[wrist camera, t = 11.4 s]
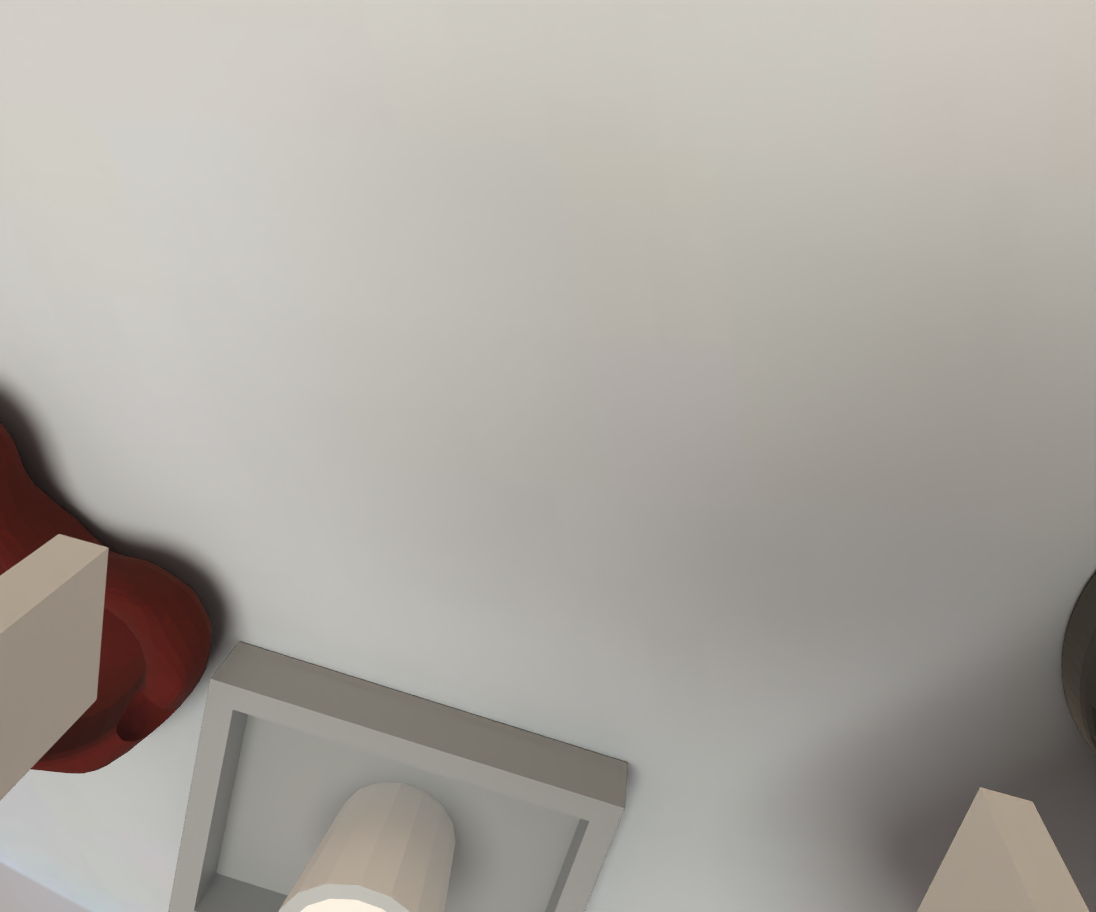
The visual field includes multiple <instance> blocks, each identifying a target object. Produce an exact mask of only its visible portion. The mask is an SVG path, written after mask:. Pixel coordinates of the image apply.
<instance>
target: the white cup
mask: <svg viewBox="0 0 1096 912" xmlns="http://www.w3.org/2000/svg"><path fill="white" fill-rule="evenodd" d="M455 842H456V841H455V833H454V824H453V821H452V820H451V818H450V817H449V815H448V813H447V812H446V810H445V808H444V807H443V805H442V804H441V803H439V802H438V801H437V800H435V799H434V798H433V797H432V796H430V795H429V794H428V793H427V792H425V791H424V790H421V789H418V788H415V787H412V786H410V785H407V784H404V783H393V782H378V783H375V784H372V785H369V786H366V787H363V788H361V789H359V790H357V791H356V792H355V793H354V794H353V795H352V796H351V797H350V798H349V799H348V800H347V801H346V802H345V803H344V805H343V807H342V808H341V810H340V812H339V813H338V815H337V816H336V818H335V820H334V821H333V823H332V825H331V826H330V828H329V829H328V831H327V833H326V834H325V836H324V838H323V839H322V841H321V843H320V844H319V846H318V847H317V849H316V851H315V852H314V854H313V856H312V857H311V859H310V860H309V862H308V864H307V865H306V867H305V869H304V870H303V872H302V874H301V875H300V877H299V878H298V880H297V882H296V883H295V885H294V887H293V888H292V890H291V891H290V893H289V895H288V896H287V898H286V900H285V901H284V903H283V905H282V906H281V908H280V909H279V912H444V911H445V905H446V899H447V892H448V886H449V880H450V873H451V867H452V861H453V855H454V848H455Z"/></svg>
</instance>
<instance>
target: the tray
mask: <svg viewBox="0 0 1096 912" xmlns="http://www.w3.org/2000/svg"><path fill="white" fill-rule="evenodd" d="M627 764H628V763H627V762H623V761H620V760H617V759H614V758H611V757H607V756H604V755H601V754H598V753H595V752H591V751H588V750H585V749H582V748H579V747H575V746H572V745H569V744H566V743H563V742H559V741H556V740H553V739H550V738H547V737H543V736H540V735H537V734H534V733H531V732H527V731H524V730H521V729H518V728H515V727H511V726H508V725H505V724H502V723H499V722H495V721H492V720H489V719H486V718H483V717H479V716H476V715H473V714H470V713H467V712H463V711H460V710H457V709H454V708H451V707H447V706H444V705H441V704H438V703H435V702H431V701H428V700H425V699H422V698H419V697H415V696H412V695H409V694H406V693H403V692H399V691H396V690H393V689H390V688H387V687H383V686H380V685H377V684H374V683H371V682H367V681H364V680H361V679H358V678H355V677H351V676H348V675H345V674H342V673H339V672H335V671H332V670H329V669H326V668H323V667H319V666H316V665H313V664H310V663H307V662H303V661H300V660H297V659H294V658H291V657H287V656H284V655H281V654H278V653H275V652H271V651H268V650H265V649H262V648H259V647H255V646H252V645H249V644H246V643H243V642H239V643H238V644H237V645H236V647H235V648H234V649H233V650H232V652H231V653H230V654H229V655H228V657H227V658H226V659H225V661H224V662H223V663H222V664H221V666H220V667H219V668H218V669H217V671H216V672H215V673H214V674H213V676H212V677H211V678H210V683H209V688H208V694H207V699H206V705H205V711H204V716H203V722H202V727H201V733H200V738H199V744H198V749H197V755H196V761H195V766H194V772H193V777H192V783H191V788H190V794H189V800H188V805H187V811H186V816H185V822H184V827H183V833H182V838H181V844H180V850H179V855H178V861H177V866H176V872H175V877H174V883H173V889H172V894H171V900H170V905H169V911H168V912H279V909H280V908H281V906H282V905H283V903H284V901H285V900H286V898H287V896H288V895H289V893H290V891H291V890H292V888H293V887H294V885H295V883H296V882H297V880H298V878H299V877H300V875H301V874H302V872H303V870H304V869H305V867H306V865H307V864H308V862H309V860H310V859H311V857H312V856H313V854H314V852H315V851H316V849H317V847H318V846H319V844H320V843H321V841H322V839H323V838H324V836H325V834H326V833H327V831H328V829H329V828H330V826H331V825H332V823H333V821H334V820H335V818H336V816H337V815H338V813H339V812H340V810H341V808H342V807H343V805H344V803H345V802H346V801H347V800H348V799H349V798H350V797H351V796H352V795H353V794H354V793H355V792H356V791H357V790H359V789H361V788H363V787H366V786H369V785H372V784H375V783H378V782H393V783H404V784H407V785H410V786H412V787H415V788H418V789H421V790H424V791H425V792H427V793H428V794H429V795H430V796H432V797H433V798H434V799H435V800H437V801H438V802H439V803H441V804H442V805H443V807H444V808H445V810H446V812H447V813H448V815H449V817H450V818H451V820H452V821H453V824H454V833H455V841H456V842H455V848H454V855H453V861H452V867H451V873H450V880H449V886H448V892H447V899H446V905H445V911H444V912H584V910H585V907H586V905H587V902H588V900H589V897H590V895H591V892H592V890H593V887H594V885H595V882H596V879H597V877H598V874H599V872H600V869H601V867H602V864H603V862H604V859H605V857H606V854H607V852H608V849H609V847H610V844H611V842H612V839H613V837H614V834H615V832H616V829H617V827H618V824H619V822H620V819H621V817H622V814H623V812H624V809H625V797H626V780H627Z"/></svg>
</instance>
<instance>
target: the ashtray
mask: <svg viewBox="0 0 1096 912" xmlns="http://www.w3.org/2000/svg"><path fill="white" fill-rule="evenodd" d="M58 534H61V535H65V536H68V537H72V538H76V539H79V540H83V541H87V542H90V543H94V544H97V545H101V546H104V545H103V544H102V543H101V542H100V541H98V540H97V539H96V538H95V537H94V536H93V535H92V534H91V533H90V532H89V531H88V530H86V529H85V528H84V527H83V526H82V524H81V523H80V522H79V521H78V520H77V519H76V518H75V517H73V516H72V515H71V514H70V513H68V512H67V511H66V510H64V509H63V508H62V507H61V506H59V505H58V504H57V503H56V502H55V501H53V500H52V499H51V498H50V497H49V496H47V495H46V494H45V493H44V492H43V491H42V490H41V489H40V488H39V487H37V486H36V485H35V484H34V483H33V482H32V481H31V479H30V477H29V476H28V474H27V473H26V471H25V469H24V466H23V464H22V461H21V459H20V456H19V453H18V451H17V448H16V445H15V443H14V441H13V439H12V438H11V436H10V435H9V433H8V431H7V430H6V429H5V428H4V426H3V425H2V424H1V423H0V575H2V574H3V573H5V572H6V571H8V570H9V569H10V568H12V567H13V566H15V565H16V564H17V563H19V562H20V561H22V560H23V559H24V558H26V557H27V556H29V555H30V554H31V553H33V552H34V551H36V550H37V549H39V548H40V547H41V546H43V545H44V544H46V543H47V542H48V541H50V540H51V539H53V538H54V537H55V536H57V535H58ZM210 645H211V622H210V620H209V617H208V615H207V613H206V611H205V609H204V607H203V605H202V604H201V602H200V600H199V598H198V596H197V595H196V594H195V592H194V591H193V589H192V588H191V587H189V586H188V585H187V584H186V583H184V582H183V581H182V580H180V579H178V578H177V577H175V576H174V575H172V574H171V573H169V572H167V571H166V570H164V569H163V568H161V567H159V566H157V565H155V564H153V563H151V562H149V561H146V560H142V559H137V558H133V557H128V556H124V555H120V554H117V553H115V552H113V551H110V550H109V549H108V562H107V574H106V587H105V600H104V612H103V625H102V638H101V651H100V663H99V676H98V689H97V700H96V701H95V702H94V703H93V704H92V705H91V706H90V707H89V708H88V709H87V710H86V711H85V712H84V713H83V714H82V715H81V716H80V718H79V719H78V720H77V721H76V722H75V723H74V724H73V725H72V726H71V727H70V728H69V729H68V730H67V731H66V732H65V733H64V734H63V735H62V736H61V737H60V738H59V740H58V741H57V742H56V743H55V744H54V745H53V746H52V747H51V748H50V749H49V750H48V751H47V752H46V753H45V754H44V755H43V756H42V757H41V758H40V759H39V760H38V761H37V763H36V764H35V765H34V766H33V767H32V768H31V769H34V770H44V771H53V772H62V773H87V772H91V771H95V770H98V769H100V768H102V767H104V766H107V765H108V764H110V763H111V762H113V761H114V760H116V759H117V758H119V757H120V756H122V755H124V754H125V753H127V752H128V751H129V750H131V749H132V748H133V747H134V746H135V745H137V744H138V743H139V742H140V741H142V740H143V739H144V738H145V737H147V736H148V735H149V734H150V733H152V732H153V731H154V730H155V729H156V728H158V727H159V726H160V725H161V724H162V723H163V722H164V721H165V720H167V719H168V718H169V717H170V716H171V715H172V714H173V713H174V712H175V711H176V710H177V709H178V708H179V707H180V706H181V704H182V703H183V702H184V701H185V700H186V698H187V697H188V696H189V695H190V694H191V692H192V691H193V689H194V688H195V687H196V685H197V684H198V682H199V681H200V679H201V677H202V675H203V673H204V671H205V669H206V666H207V662H208V659H209V654H210Z"/></svg>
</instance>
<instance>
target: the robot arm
mask: <svg viewBox="0 0 1096 912" xmlns="http://www.w3.org/2000/svg"><path fill="white" fill-rule="evenodd" d="M108 549H109V548H108V547H105V546H101V545H97V544H94V543H90V542H87V541H83V540H79V539H76V538H72V537H68V536H65V535H61V534H58V535H57V536H55V537H54V538H53V539H51V540H50V541H48V542H47V543H46V544H44V545H43V546H41V547H40V548H39V549H37V550H36V551H34V552H33V553H31V554H30V555H29V556H27V557H26V558H24V559H23V560H22V561H20V562H19V563H17V564H16V565H15V566H13V567H12V568H10V569H9V570H8V571H6V572H5V573H3V574H2V575H0V800H1V799H2V798H3V797H4V796H5V795H6V794H7V793H8V792H9V791H10V790H11V789H12V788H13V787H14V786H15V785H16V783H17V782H18V781H19V780H20V779H21V778H22V777H23V776H24V775H25V774H26V773H27V772H28V771H29V770H30V769H31V768H32V767H33V766H34V765H35V764H36V763H37V761H38V760H39V759H40V758H41V757H42V756H43V755H44V754H45V753H46V752H47V751H48V750H49V749H50V748H51V747H52V746H53V745H54V744H55V743H56V742H57V741H58V740H59V738H60V737H61V736H62V735H63V734H64V733H65V732H66V731H67V730H68V729H69V728H70V727H71V726H72V725H73V724H74V723H75V722H76V721H77V720H78V719H79V718H80V716H81V715H82V714H83V713H84V712H85V711H86V710H87V709H88V708H89V707H90V706H91V705H92V704H93V703H94V702H95V701H96V700H97V689H98V676H99V663H100V651H101V638H102V625H103V612H104V600H105V587H106V574H107V562H108ZM1062 678H1063V686H1064V691H1065V696H1066V700H1067V703H1068V706H1069V709H1070V712H1071V714H1072V716H1073V719H1074V721H1075V723H1076V725H1077V726H1078V728H1079V730H1080V732H1081V733H1082V735H1083V736H1084V738H1085V739H1086V741H1087V742H1088V744H1089V745H1090V747H1091V748H1092V750H1093V752H1094V753H1095V755H1096V573H1095V575H1094V576H1093V577H1092V579H1091V580H1090V582H1089V583H1088V585H1087V587H1086V588H1085V590H1084V591H1083V593H1082V595H1081V597H1080V599H1079V601H1078V603H1077V605H1076V607H1075V609H1074V612H1073V614H1072V616H1071V619H1070V622H1069V625H1068V629H1067V632H1066V637H1065V641H1064V647H1063V655H1062ZM917 912H1089V910H1088V908H1087V906H1086V904H1085V902H1084V900H1083V898H1082V896H1081V894H1080V892H1079V890H1078V889H1077V887H1076V885H1075V883H1074V881H1073V879H1072V877H1071V875H1070V873H1069V871H1068V869H1067V867H1066V865H1065V863H1064V862H1063V860H1062V858H1061V856H1060V854H1059V852H1058V850H1057V848H1056V846H1055V844H1054V842H1053V840H1052V838H1051V836H1050V835H1049V833H1048V831H1047V829H1046V827H1045V825H1044V823H1043V821H1042V819H1041V817H1040V815H1039V813H1038V811H1037V810H1036V808H1035V806H1034V804H1033V802H1032V801H1029V800H1025V799H1022V798H1018V797H1014V796H1011V795H1007V794H1003V793H1000V792H996V791H992V790H989V789H985V788H982V787H980V788H979V790H978V792H977V794H976V796H975V798H974V800H973V802H972V804H971V806H970V808H969V810H968V812H967V814H966V816H965V818H964V820H963V822H962V824H961V826H960V828H959V830H958V832H957V834H956V836H955V838H954V840H953V842H952V844H951V845H950V847H949V849H948V851H947V853H946V855H945V857H944V859H943V861H942V863H941V865H940V867H939V869H938V871H937V873H936V875H935V877H934V879H933V881H932V883H931V885H930V887H929V889H928V891H927V893H926V895H925V897H924V899H923V901H922V902H921V904H920V906H919V908H918V910H917Z"/></svg>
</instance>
